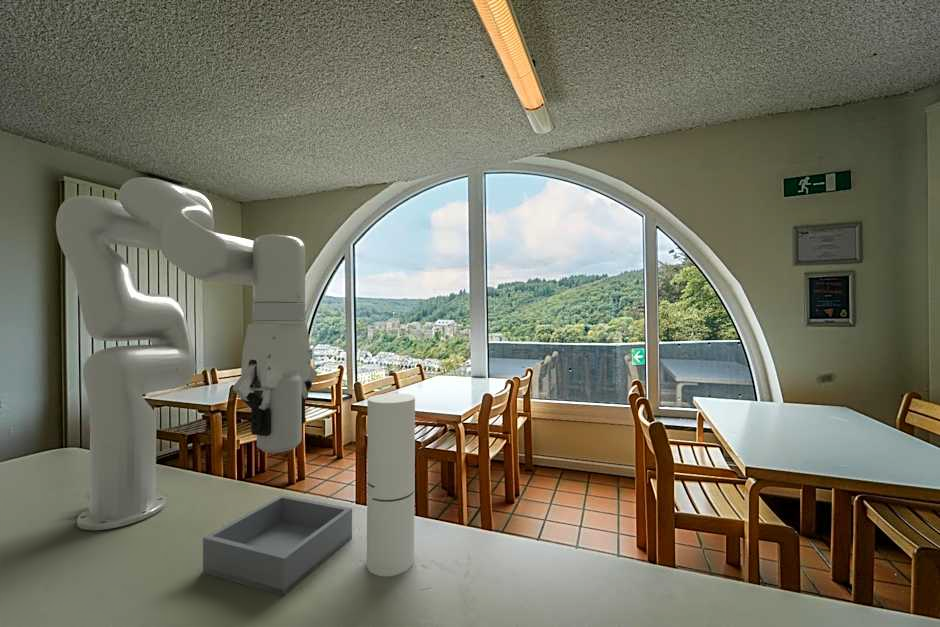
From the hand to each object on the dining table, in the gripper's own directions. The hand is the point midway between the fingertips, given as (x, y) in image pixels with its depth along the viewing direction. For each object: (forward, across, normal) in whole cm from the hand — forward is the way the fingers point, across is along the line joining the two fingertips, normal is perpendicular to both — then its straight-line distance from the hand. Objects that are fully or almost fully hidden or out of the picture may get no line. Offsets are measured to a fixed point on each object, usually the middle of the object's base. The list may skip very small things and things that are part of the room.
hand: (279, 427), depth 63 cm
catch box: (+20, 0, 0) cm, 20 cm away
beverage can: (+3, 0, 0) cm, 3 cm away
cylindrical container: (+20, -4, +17) cm, 27 cm away
